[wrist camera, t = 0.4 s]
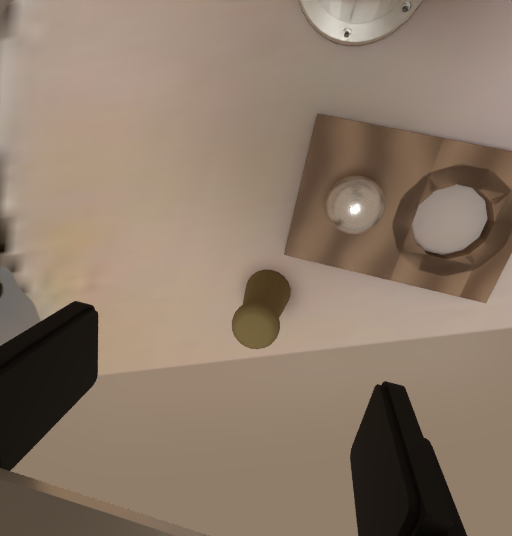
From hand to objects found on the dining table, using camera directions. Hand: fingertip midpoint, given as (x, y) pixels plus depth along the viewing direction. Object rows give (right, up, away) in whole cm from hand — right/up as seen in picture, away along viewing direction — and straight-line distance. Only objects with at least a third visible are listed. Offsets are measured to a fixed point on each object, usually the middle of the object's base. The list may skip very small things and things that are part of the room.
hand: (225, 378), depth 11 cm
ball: (+11, +10, +24) cm, 28 cm away
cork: (+3, +1, +34) cm, 34 cm away
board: (+18, +10, +27) cm, 34 cm away
